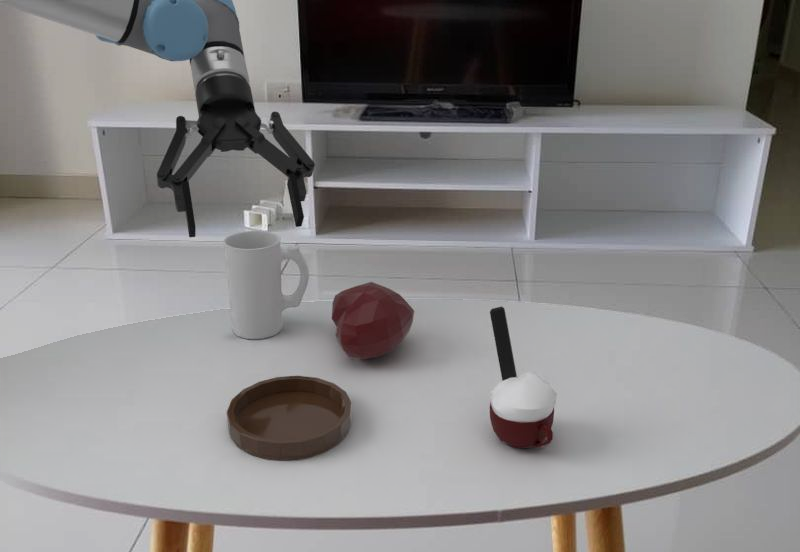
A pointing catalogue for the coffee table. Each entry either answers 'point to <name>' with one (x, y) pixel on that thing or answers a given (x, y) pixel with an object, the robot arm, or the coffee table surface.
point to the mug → (259, 282)
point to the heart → (370, 320)
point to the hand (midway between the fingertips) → (247, 227)
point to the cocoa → (519, 396)
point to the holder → (289, 417)
